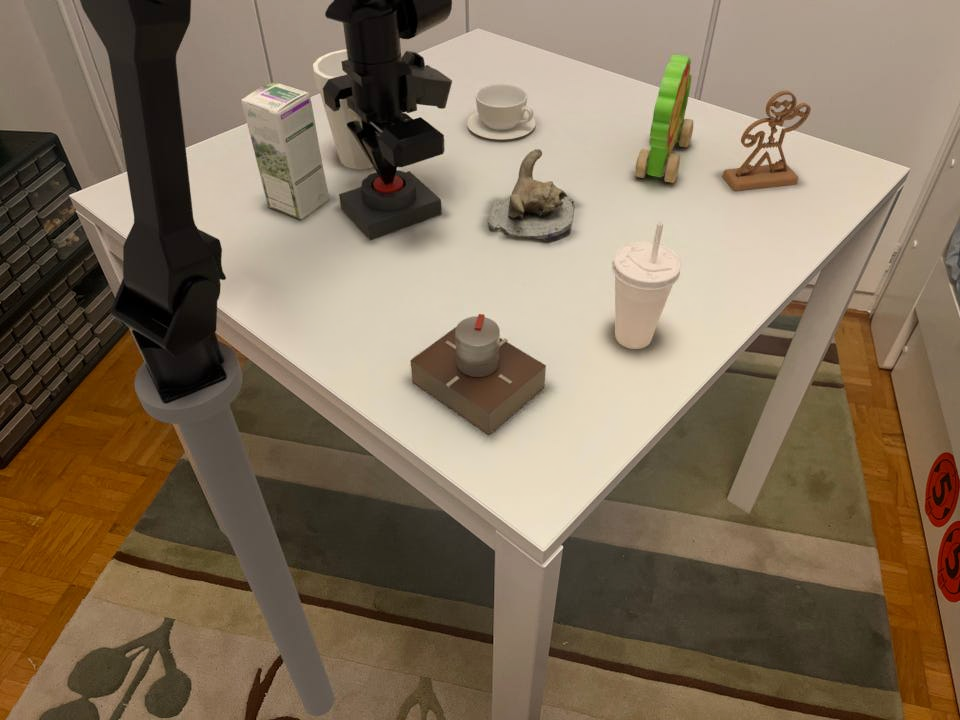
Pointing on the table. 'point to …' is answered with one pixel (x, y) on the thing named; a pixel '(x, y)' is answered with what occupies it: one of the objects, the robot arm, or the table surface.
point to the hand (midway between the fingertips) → (387, 182)
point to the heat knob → (477, 346)
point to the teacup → (501, 112)
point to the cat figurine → (533, 207)
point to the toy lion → (668, 122)
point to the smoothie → (642, 288)
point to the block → (389, 205)
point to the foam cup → (339, 112)
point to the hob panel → (479, 382)
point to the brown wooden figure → (770, 173)
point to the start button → (388, 185)
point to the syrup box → (286, 148)
